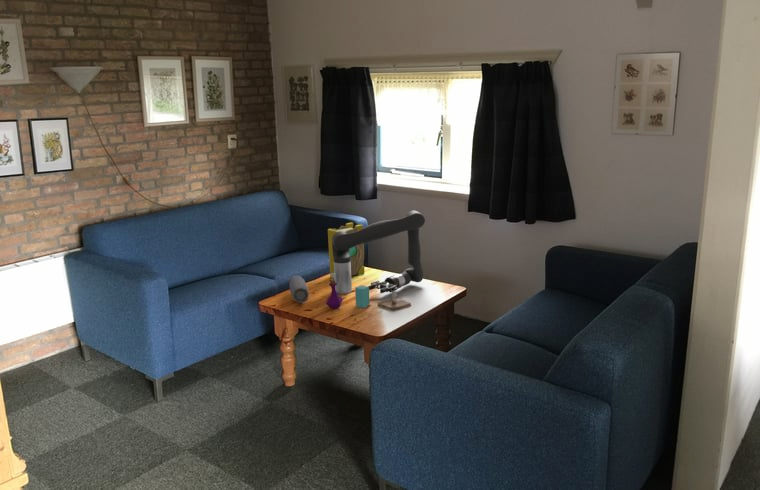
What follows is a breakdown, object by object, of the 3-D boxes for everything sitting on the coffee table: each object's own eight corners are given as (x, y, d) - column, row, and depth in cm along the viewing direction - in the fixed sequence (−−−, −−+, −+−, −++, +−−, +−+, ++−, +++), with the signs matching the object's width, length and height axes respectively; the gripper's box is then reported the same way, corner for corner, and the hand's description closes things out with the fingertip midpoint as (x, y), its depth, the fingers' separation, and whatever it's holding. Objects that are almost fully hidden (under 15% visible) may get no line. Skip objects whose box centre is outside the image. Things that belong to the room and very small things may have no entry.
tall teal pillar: (355, 306, 337) (355, 287, 334) (362, 303, 340) (361, 285, 338) (362, 308, 333) (362, 289, 331) (369, 305, 337) (369, 286, 334)
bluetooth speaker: (310, 304, 341) (309, 286, 339) (292, 306, 340) (291, 287, 337) (306, 291, 363) (305, 273, 360) (289, 292, 361) (288, 275, 359)
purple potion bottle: (339, 310, 332) (338, 276, 327) (325, 309, 333) (323, 275, 329) (343, 305, 339) (342, 271, 334) (329, 304, 340) (327, 271, 336)
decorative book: (339, 280, 379) (337, 230, 372) (328, 276, 388) (325, 227, 380) (366, 273, 392) (364, 224, 385) (354, 269, 400) (352, 221, 393)
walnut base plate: (377, 305, 336) (377, 290, 335) (396, 300, 344) (395, 285, 342) (392, 311, 327) (392, 296, 325) (410, 305, 334) (410, 291, 332)
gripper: (384, 273, 357) (364, 280, 346) (404, 278, 348) (384, 285, 336) (385, 286, 359) (364, 294, 348) (405, 291, 350) (385, 299, 338)
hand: (374, 289), depth 342 cm, fingers open, 8 cm apart
